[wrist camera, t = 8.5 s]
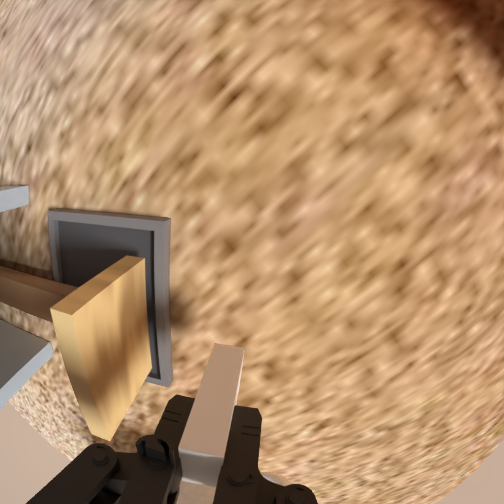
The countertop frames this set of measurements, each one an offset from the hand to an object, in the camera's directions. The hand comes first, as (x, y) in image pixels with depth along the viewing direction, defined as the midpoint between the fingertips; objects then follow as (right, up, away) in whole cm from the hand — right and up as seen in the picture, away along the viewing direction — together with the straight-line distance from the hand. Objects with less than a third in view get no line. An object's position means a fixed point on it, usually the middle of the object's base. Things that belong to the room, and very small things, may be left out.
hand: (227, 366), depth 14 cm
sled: (-23, +4, +5) cm, 23 cm away
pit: (-9, +3, +4) cm, 10 cm away
